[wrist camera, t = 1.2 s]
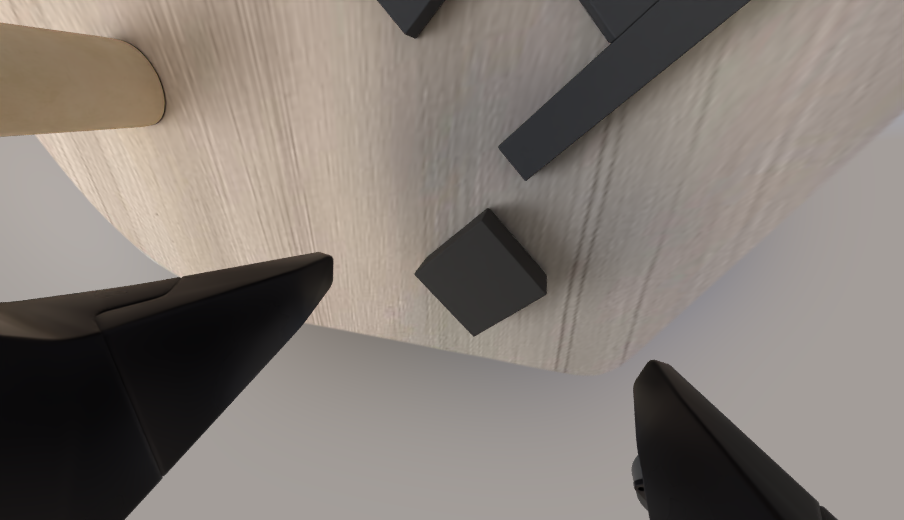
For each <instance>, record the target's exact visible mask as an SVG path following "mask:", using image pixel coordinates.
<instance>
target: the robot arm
mask: <svg viewBox="0 0 904 520" xmlns="http://www.w3.org/2000/svg"><path fill="white" fill-rule="evenodd" d="M332 282H333V258H332V256H330V255H327V254H324V253H321V252H316V253H310V254H305V255H299V256H293V257H288V258H282V259H277V260H271V261H266V262H260V263H255V264H249V265H244V266H238V267H233V268H227V269H222V270H216V271H211V272H205V273H199V274H194V275H188V276H183V277H182V278H180V277H177V278H171V279H166V280H161V281H154V282H149V283H143V284H137V285H130V286H124V287H117V288H110V289H103V290H96V291H88V292H81V293H74V294H67V295H60V296H52V297H45V298H37V299H30V300H23V301H13V302H3V303H2V302H1V303H0V520H125V518H126V517H127V516H128V515H129V514H130V513H131V512H132V511H133V510H134V509H135V508H136V507H137V506H138V504H139V503H140V502H141V501H142V500H143V499H144V498H145V497H146V496H147V495H148V494H149V492H150V491H151V490H152V489H153V488H154V487H155V486H156V485H157V484H158V483H159V482H160V480H161V479H162V476H164V475H166V474H167V473H168V471H169V470H170V469H171V468H172V467H173V466H174V465H175V464H176V463H177V462H178V460H179V459H180V458H181V457H182V456H183V455H184V454H185V453H186V452H187V451H188V450H189V448H190V447H191V446H192V445H193V444H194V443H195V442H196V441H197V440H198V439H199V438H200V437H201V435H202V434H203V433H204V432H205V431H206V430H207V429H208V428H209V427H210V426H211V425H212V423H213V422H214V421H215V420H216V419H217V418H218V417H219V416H220V415H221V414H222V413H223V411H224V410H225V409H226V408H227V407H228V406H229V405H230V404H231V403H232V402H233V401H234V399H235V398H236V397H237V396H238V395H239V394H240V393H241V392H242V391H243V390H244V389H245V387H246V386H247V385H248V384H249V383H250V382H251V381H252V380H253V379H254V378H255V377H256V375H257V374H258V373H259V372H260V371H261V370H262V369H263V368H264V367H265V365H267V363H268V362H269V361H270V360H271V359H272V358H273V357H274V356H275V355H276V354H277V352H279V350H280V349H281V348H282V347H283V346H284V345H285V344H286V343H287V341H289V339H290V338H291V337H292V336H293V335H294V334H295V333H296V332H297V330H299V328H300V327H301V326H302V325H303V324H304V322H305V321H306V320H307V318H308V317H309V316H310V314H311V313H312V312H313V310H314V309H315V308H316V306H317V305H318V303H319V302H320V301H321V299H322V298H323V297H324V295H325V294H326V293H327V291H328V290H329V288H330V287H331V285H332ZM633 393H634V411H635V427H636V441H637V449H638V456H639V462H640V468H641V473H642V479H638V480H635V481H634V488H635V490H636V491H637V492H638V494H639V495H640V496H641V497H642V498H643V499H644V500H645V501H646V502H647V507H648V512H649V518H650V520H837V519H836V518H835V517H834V516H833V515H832V514H831V513H830V512H829V511H828V510H827V509H825V508H824V507H823V506H819V502H818V501H817V500H816V499H815V498H813V497H812V496H811V495H810V494H809V493H808V492H807V491H806V490H805V489H804V488H803V487H802V486H801V485H799V484H798V483H797V482H796V481H795V480H794V479H793V478H792V477H791V476H789V474H787V473H786V472H785V471H784V470H783V469H782V468H781V467H780V466H779V465H778V464H777V463H776V462H774V461H773V460H772V459H771V458H770V457H769V456H768V455H767V454H766V453H765V452H764V451H763V450H761V449H760V448H759V447H758V446H757V445H756V444H755V443H754V442H753V441H752V440H751V439H750V438H748V437H747V436H746V435H745V434H744V433H743V432H742V431H741V430H740V429H739V428H738V427H736V426H735V425H734V424H733V423H732V422H731V421H730V420H729V419H728V418H727V417H726V416H724V414H722V413H721V412H720V411H719V410H718V409H717V408H716V407H715V406H714V405H713V404H711V403H710V402H709V401H708V400H707V399H706V398H705V397H704V396H703V395H702V394H701V393H700V392H699V391H698V390H696V389H695V388H694V387H693V386H692V385H691V384H690V383H689V382H687V380H686V379H685V378H683V377H682V376H681V375H680V374H679V373H678V372H677V371H676V370H675V369H674V368H673V367H672V366H670V365H669V364H666V363H663V362H660V361H657V360H650V361H649V362H648V363H647V364H646V366H645V367H644V369H643V370H642V372H641V373H640V375H639V376H638V378H637V379H636V381H635V383H634V387H633Z"/></svg>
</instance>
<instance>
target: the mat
mask: <svg viewBox="0 0 904 520" xmlns="http://www.w3.org/2000/svg"><path fill="white" fill-rule="evenodd" d="M377 1H378V2H379V3H380V4H381V6H382V7H383V8H384V9H385V10H386V12H387V13H388V14H389V15H390V17H391V18H392V19H393V20H394V21H395V23H396V24H397V25H398V26H399V28H400V29H401V30H402V31H403V32H404V34H406V35H408V36H410V37H413V38H416V37H417V36H418V35H419V34H420V32H421V31H422V30H423V28H424V27H425V26H426V24H427V23H428V22H429V20H430V19H431V18H432V16H433V15H434V14H435V13H436V11H437V10H438V9H439V7H440V6H441V5H442V3H443V2H444V1H445V0H377ZM749 1H750V0H580V2H581V3H582V5H583V6H584V8H585V9H586V10H587V12H588V13H589V15H590V16H591V18H592V19H593V20H594V22H595V23H596V25H597V26H598V28H599V29H600V30H601V32H602V33H603V35H604V36H605V38H606V39H607V40H608V42H609V43H611V44H610V45H609V46H608V47H607V48H606V49H605V50H604V51H603V52H601V53H600V54H599V55H598V56H597V57H596V58H595V59H594V60H593V61H592V62H590V63H589V64H588V65H587V66H586V67H585V68H584V69H583V70H582V71H581V72H579V73H578V74H577V75H576V76H575V77H574V78H573V79H572V80H571V81H570V82H568V83H567V84H566V85H565V86H564V87H563V88H562V89H561V90H560V91H559V92H557V93H556V94H555V95H554V96H553V97H552V98H551V99H550V100H549V101H548V102H547V103H545V104H544V105H543V106H542V107H541V108H540V109H539V110H538V111H537V112H536V113H534V114H533V115H532V116H531V117H530V118H529V119H528V120H527V121H526V122H525V123H523V124H522V125H521V126H520V127H519V128H518V129H517V130H516V131H515V132H514V133H512V134H511V135H510V136H509V137H508V138H507V139H506V140H505V141H504V142H503V143H501V144H500V145H499V147H498V148H499V150H500V151H501V152H502V153H503V154H504V156H505V157H506V158H507V159H508V160H509V162H510V163H511V164H512V165H513V167H514V168H515V169H516V170H517V171H518V173H519V174H520V175H521V176H522V178H523V179H524V180H525V181H527V180H528V179H529V178H530V177H532V176H533V175H534V174H535V173H537V172H538V171H539V170H540V169H541V168H543V167H544V166H545V165H546V164H548V163H549V162H550V161H551V160H553V159H554V158H555V157H556V156H558V155H559V154H560V153H561V152H563V151H564V150H565V149H566V148H568V147H569V146H570V145H571V144H573V143H574V142H575V141H576V140H578V139H579V138H580V137H581V136H583V135H584V134H585V133H586V132H587V131H589V130H590V129H591V128H592V127H594V126H595V125H596V124H597V123H599V122H600V121H601V120H602V119H604V118H605V117H606V116H607V115H609V114H610V113H611V112H612V111H614V110H615V109H616V108H617V107H619V106H620V105H621V104H622V103H624V102H625V101H626V100H627V99H629V98H630V97H631V96H632V95H633V94H635V93H636V92H637V91H638V90H640V89H641V88H642V87H643V86H645V85H646V84H647V83H648V82H650V81H651V80H652V79H653V78H655V77H656V76H657V75H658V74H660V73H661V72H662V71H663V70H665V69H666V68H667V67H668V66H670V65H671V64H672V63H673V62H675V61H676V60H677V59H678V58H679V57H681V56H682V55H683V54H684V53H686V52H687V51H688V50H689V49H691V48H692V47H693V46H694V45H696V44H697V43H698V42H699V41H701V40H702V39H703V38H704V37H706V36H707V35H708V34H709V33H711V32H712V31H713V30H714V29H716V28H717V27H718V26H719V25H721V24H722V23H723V22H724V21H725V20H727V19H728V18H729V17H730V16H732V15H733V14H734V13H735V12H737V11H738V10H739V9H740V8H742V7H743V6H744V5H745V4H747V3H748V2H749Z"/></svg>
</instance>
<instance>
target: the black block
mask: <svg viewBox="0 0 904 520" xmlns="http://www.w3.org/2000/svg"><path fill="white" fill-rule="evenodd" d="M415 276H416V277H417V278H418V279H419V280H420V281H421V282H422V283H423V284H424V285H425V286H426V287H427V288H428V289H429V290H430V291H431V292H432V294H433V295H434V296H435V297H436V298H437V299H438V300H439V301H440V302H441V303H442V304H443V305H444V306H445V307H446V308H447V309H448V310H449V311H450V312H451V313H452V315H453V316H454V317H455V318H456V319H457V320H458V321H459V322H460V323H461V324H462V325H463V326H464V327H465V328H466V329H467V330H468V331H469V332H470V333H471V334H472V335H473V336H476V335H478V334H479V333H481V332H483V331H485V330H486V329H488V328H490V327H491V326H493V325H495V324H497V323H498V322H500V321H502V320H503V319H505V318H507V317H509V316H510V315H512V314H514V313H515V312H517V311H519V310H521V309H522V308H524V307H526V306H528V305H529V304H531V303H533V302H534V301H536V300H538V299H540V298H541V297H543V296H545V295H546V294H547V276H546V274H545V273H544V272H543V270H542V269H541V268H540V267H539V266H538V265H537V263H536V262H535V261H534V260H533V259H532V258H531V256H530V255H529V254H528V253H527V252H526V251H525V250H524V248H523V247H522V246H521V245H520V244H519V243H518V241H517V240H516V239H515V238H514V237H513V236H512V234H511V233H510V232H509V231H508V230H507V229H506V227H505V226H504V225H503V224H502V223H501V222H500V220H499V219H498V218H497V217H496V216H495V215H494V213H493V212H492V211H491V210H490V209H489V208H487V209H486V210H485V211H483V212H482V213H481V214H480V215H479V216H477V217H476V218H475V219H474V220H472V221H471V222H470V223H469V224H467V225H466V226H465V227H464V228H463V229H461V230H460V231H459V232H458V233H456V234H455V235H454V236H453V237H451V238H450V239H449V240H448V241H446V242H445V243H444V244H443V245H442V246H440V247H439V248H438V249H437V250H435V251H434V252H433V253H432V254H430V255H429V256H428V257H427V258H426V259H425V260H424V262H423V263H422V264H421V265H420V267H419V268H418V269H417V271H416V272H415Z"/></svg>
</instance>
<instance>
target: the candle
mask: <svg viewBox="0 0 904 520" xmlns="http://www.w3.org/2000/svg"><path fill="white" fill-rule="evenodd" d="M164 105H165V102H164V94H163V90H162V86H161V83H160V81H159V78H158V76H157V74H156V72H155V70H154V69H153V67H152V66H151V64H150V63H149V61H148V60H147V59H146V58H145V57H144V55H143V54H142V53H141V52H140V51H139V50H137V49H136V48H135V47H133V46H132V45H130V44H128V43H126V42H124V41H121V40H117V39H112V38H106V37H100V36H93V35H86V34H78V33H71V32H64V31H57V30H50V29H43V28H35V27H28V26H21V25H14V24H7V23H0V137H5V136H18V135H19V136H20V135H34V134H48V133H62V132H77V131H91V130H105V129H120V128H134V127H145V126H150V125H153V124H156V123H157V122H158V121H159V120H160V119H161V117H162V115H163V113H164Z"/></svg>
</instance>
